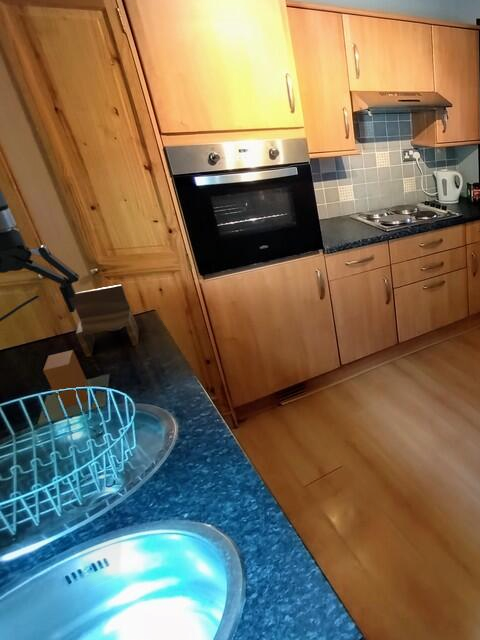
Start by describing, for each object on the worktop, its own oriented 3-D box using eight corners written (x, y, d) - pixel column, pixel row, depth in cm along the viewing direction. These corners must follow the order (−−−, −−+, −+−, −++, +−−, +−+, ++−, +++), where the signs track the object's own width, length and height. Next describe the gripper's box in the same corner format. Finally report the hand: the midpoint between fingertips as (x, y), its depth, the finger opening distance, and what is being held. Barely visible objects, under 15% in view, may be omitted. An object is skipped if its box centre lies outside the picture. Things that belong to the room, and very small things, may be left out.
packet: (66, 392, 115) (48, 355, 111) (89, 386, 117) (72, 349, 113) (61, 408, 109) (42, 370, 105) (86, 401, 112) (68, 364, 107)
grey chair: (90, 340, 140) (69, 293, 134) (138, 329, 147) (121, 284, 140) (86, 357, 131) (64, 308, 125) (138, 344, 138) (119, 297, 131)
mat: (49, 391, 116) (48, 389, 116) (109, 375, 123) (108, 373, 122) (38, 425, 104) (37, 423, 104) (105, 406, 111) (104, 404, 111)
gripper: (-104, 245, 87) (-51, 339, 96) (68, 225, 101) (102, 309, 110) (-90, 235, 93) (-40, 325, 102) (72, 218, 107) (104, 298, 115)
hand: (34, 317), depth 106 cm, fingers open, 13 cm apart
